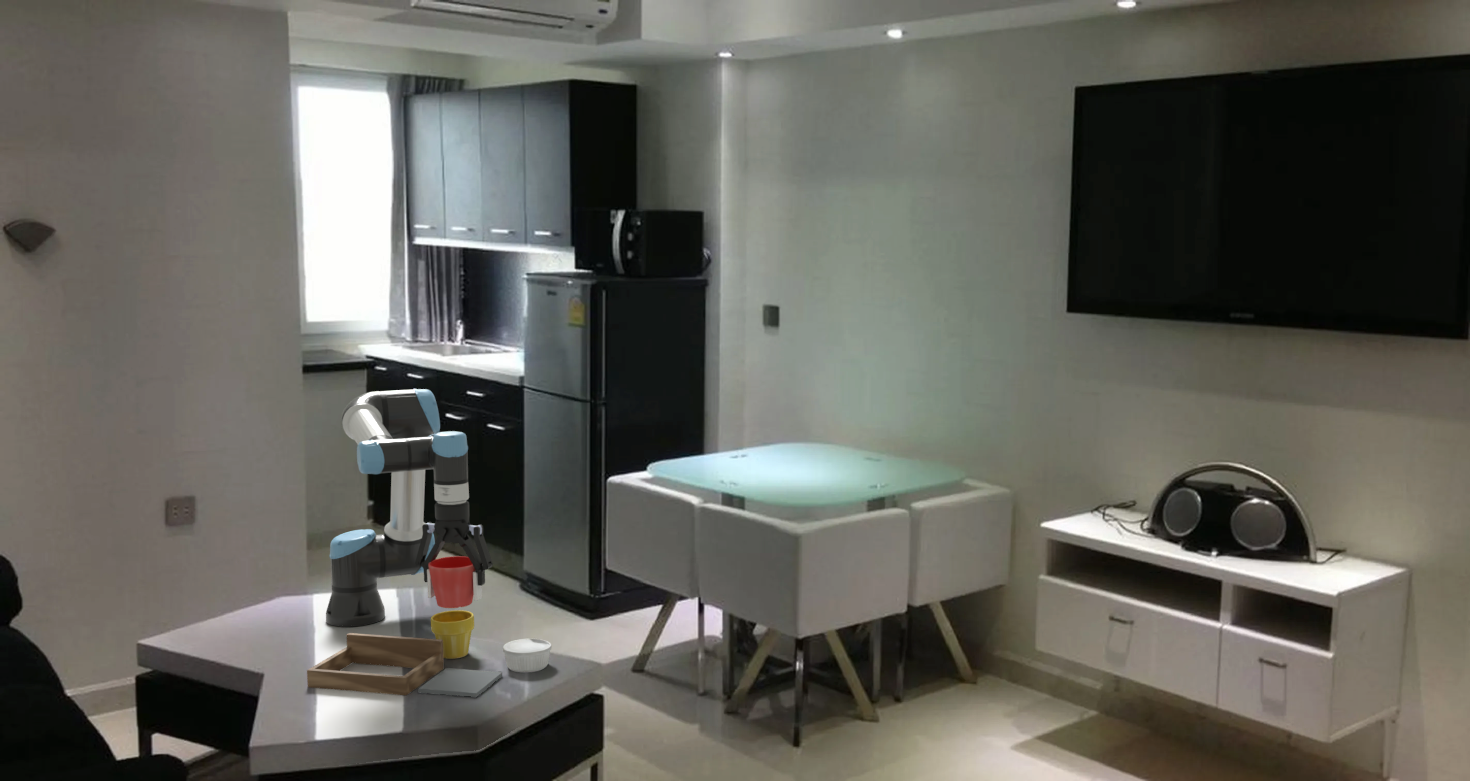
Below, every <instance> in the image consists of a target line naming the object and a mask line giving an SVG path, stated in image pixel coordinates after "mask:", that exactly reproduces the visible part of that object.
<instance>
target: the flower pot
mask: <svg viewBox="0 0 1470 781" xmlns="http://www.w3.org/2000/svg"><path fill="white" fill-rule="evenodd" d="M428 566H429V571H430V576H431V581H432V585H433V589H434V593H435V596H434V597H435V600H436V604H437V606H438V607H440V608H441V609H458V608H464V607H468V606H470V605H472V603H473V601H474V591H473V572H474V571H476V569H475V567H474V566H473V564H472V562H471V561H470V559H469V557H468V556H465V555H464V556H463V555H462V556H461V555H460V556H459V555H455V556H454V555H453V556H445V557H439V558H436V559H435V560H434V561H432V562H429V564H428Z"/></svg>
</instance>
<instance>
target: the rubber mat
mask: <svg viewBox="0 0 1470 781" xmlns="http://www.w3.org/2000/svg"><path fill="white" fill-rule="evenodd" d="M499 678H500V679H502V678H503V672H502V671H490V670H489V671H487V670H475V669H467V668H466V669H463V668H452V667H451V668H449V667H446V668H445V669H442V670H441V671H440V672H438V673H437V674H435V675H434V676H433V677H431V678H430V679H429V680H427V681H426V682H424V683H423V684H422V685H420V686H419V687H417V691H418V692H419V694H427V693H434V694H433V695H440V694H446V695H445V696H452V695H457V696H456V697H464V696H471V697H470V698H476V697H477V696H478V695H479V694H480V695H481V693H482V692H483V693H484V692H485V691H487V690H488V689H489V688H491V686H492V684H493V683H494V682H495V681H496V682H497V681H499V680H500V679H499ZM498 679H499V680H498ZM496 682H495V683H496ZM495 683H494V684H495ZM494 684H493V685H494ZM490 685H491V686H490ZM488 687H489V688H488ZM487 688H488V689H487ZM418 692H417V693H418ZM420 692H421V693H420ZM483 693H482V694H483ZM458 695H460V696H458ZM480 695H479V696H480ZM479 696H478V697H479ZM478 697H477V698H478Z"/></svg>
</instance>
